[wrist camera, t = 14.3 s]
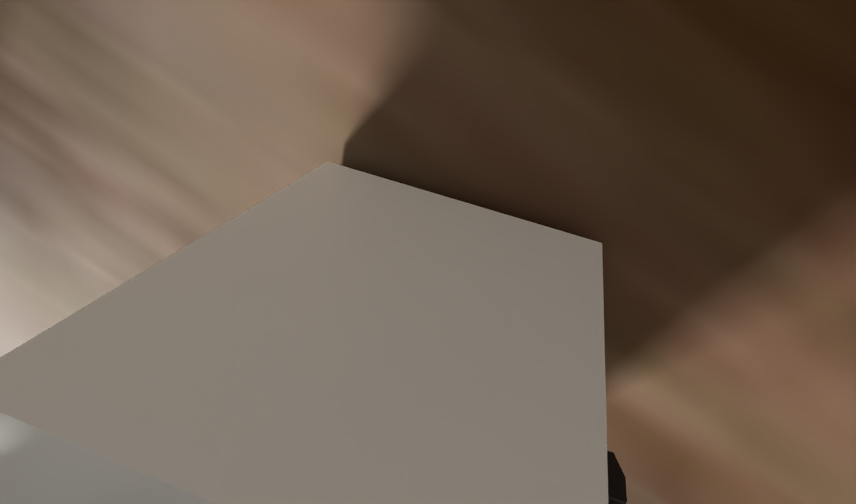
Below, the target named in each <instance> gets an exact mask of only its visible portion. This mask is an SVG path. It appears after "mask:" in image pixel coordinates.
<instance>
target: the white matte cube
mask: <svg viewBox="0 0 856 504" xmlns="http://www.w3.org/2000/svg"><path fill="white" fill-rule="evenodd" d="M0 504H608V465H607V423H606V382H605V340H604V299H603V258H602V243H600V242H597V241H594V240H590V239H587V238H584V237H580V236H577V235H573V234H570V233H567V232H563V231H560V230H557V229H553V228H550V227H547V226H543V225H540V224H536V223H533V222H530V221H526V220H523V219H520V218H516V217H513V216H510V215H506V214H503V213H499V212H496V211H493V210H489V209H486V208H483V207H479V206H476V205H473V204H469V203H466V202H462V201H459V200H456V199H452V198H449V197H446V196H442V195H439V194H436V193H432V192H429V191H425V190H422V189H419V188H415V187H412V186H409V185H405V184H402V183H399V182H395V181H392V180H388V179H385V178H382V177H378V176H375V175H372V174H368V173H365V172H362V171H358V170H355V169H351V168H348V167H345V166H341V165H338V164H335V163H331V162H328V161H327V162H326V163H324V164H322V165H321V166H319V167H317V168H316V169H314V170H312V171H311V172H309V173H307V174H306V175H304V176H302V177H301V178H299V179H297V180H296V181H294V182H292V183H291V184H289V185H287V186H286V187H284V188H282V189H281V190H279V191H277V192H276V193H274V194H272V195H271V196H269V197H267V198H266V199H264V200H262V201H261V202H259V203H257V204H256V205H254V206H252V207H251V208H249V209H247V210H246V211H244V212H242V213H241V214H239V215H237V216H236V217H234V218H232V219H231V220H229V221H227V222H226V223H224V224H222V225H221V226H219V227H217V228H216V229H214V230H212V231H211V232H209V233H207V234H206V235H204V236H202V237H201V238H199V239H197V240H196V241H194V242H192V243H191V244H189V245H187V246H186V247H184V248H182V249H181V250H179V251H177V252H176V253H174V254H172V255H171V256H169V257H167V258H166V259H164V260H162V261H161V262H159V263H157V264H156V265H154V266H152V267H151V268H149V269H147V270H146V271H144V272H142V273H141V274H139V275H137V276H136V277H134V278H132V279H131V280H129V281H127V282H126V283H124V284H122V285H121V286H119V287H117V288H116V289H114V290H112V291H111V292H109V293H107V294H106V295H104V296H102V297H101V298H99V299H97V300H96V301H94V302H92V303H91V304H89V305H87V306H86V307H84V308H82V309H81V310H79V311H77V312H76V313H74V314H72V315H71V316H69V317H67V318H66V319H64V320H62V321H61V322H59V323H57V324H56V325H54V326H52V327H51V328H49V329H47V330H46V331H44V332H42V333H41V334H39V335H37V336H36V337H34V338H32V339H31V340H29V341H27V342H26V343H24V344H22V345H21V346H19V347H17V348H16V349H14V350H12V351H11V352H9V353H7V354H6V355H4V356H2V357H1V358H0Z"/></svg>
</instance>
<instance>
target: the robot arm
mask: <svg viewBox="0 0 856 504" xmlns="http://www.w3.org/2000/svg"><path fill="white" fill-rule="evenodd" d="M607 465H608V504H626V502H627V497H626V481H625V476H624V474H623V472H622V469H621V467H620V465H619V463H618V461H617V459H616V457H615V455H614V453H612V452H609V451H607Z"/></svg>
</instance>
